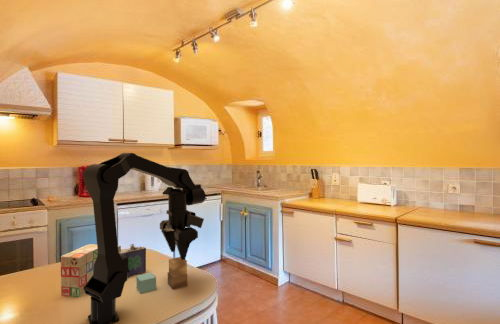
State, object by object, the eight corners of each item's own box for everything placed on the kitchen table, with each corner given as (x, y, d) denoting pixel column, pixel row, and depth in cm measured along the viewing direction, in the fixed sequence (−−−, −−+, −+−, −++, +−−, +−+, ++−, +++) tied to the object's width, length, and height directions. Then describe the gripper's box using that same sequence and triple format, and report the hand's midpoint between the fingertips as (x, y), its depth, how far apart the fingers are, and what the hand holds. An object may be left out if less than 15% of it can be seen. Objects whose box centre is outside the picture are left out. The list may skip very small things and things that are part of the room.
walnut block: (187, 286, 95) (187, 274, 95) (172, 290, 93) (172, 277, 93) (181, 281, 99) (181, 269, 99) (167, 284, 97) (167, 272, 97)
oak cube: (173, 277, 93) (173, 263, 93) (168, 272, 96) (168, 259, 96) (186, 273, 95) (186, 260, 95) (181, 269, 99) (181, 256, 99)
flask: (120, 279, 100) (120, 248, 100) (117, 277, 102) (117, 246, 102) (147, 272, 106) (147, 242, 106) (143, 270, 109) (143, 241, 108)
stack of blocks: (106, 269, 109) (105, 236, 109) (121, 270, 109) (121, 237, 108) (60, 296, 88) (60, 255, 88) (79, 298, 87) (79, 256, 87)
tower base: (156, 290, 93) (156, 277, 93) (140, 294, 90) (140, 281, 90) (151, 284, 97) (151, 272, 97) (136, 288, 94) (136, 275, 94)
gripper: (213, 209, 92) (213, 258, 93) (189, 201, 108) (189, 244, 108) (179, 213, 86) (179, 266, 86) (159, 204, 102) (159, 249, 102)
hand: (177, 255), depth 96 cm, fingers open, 9 cm apart
